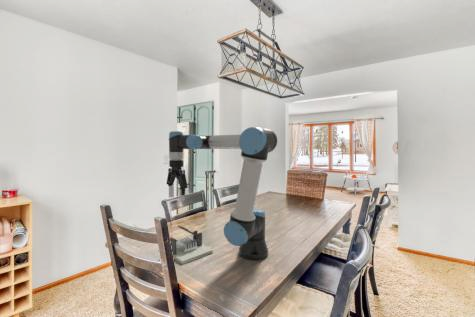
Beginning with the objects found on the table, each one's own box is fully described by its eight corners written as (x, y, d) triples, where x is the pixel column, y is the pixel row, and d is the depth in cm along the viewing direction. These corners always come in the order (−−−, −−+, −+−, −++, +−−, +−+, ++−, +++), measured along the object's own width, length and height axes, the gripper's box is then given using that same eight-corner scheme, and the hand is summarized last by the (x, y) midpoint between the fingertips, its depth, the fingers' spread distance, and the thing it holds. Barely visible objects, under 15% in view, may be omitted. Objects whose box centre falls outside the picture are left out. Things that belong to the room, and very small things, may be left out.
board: (212, 252, 124) (212, 249, 124) (182, 264, 112) (182, 261, 112) (189, 240, 140) (189, 237, 140) (160, 249, 128) (160, 246, 128)
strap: (199, 238, 130) (201, 235, 130) (180, 229, 121) (181, 225, 122) (196, 237, 132) (197, 234, 132) (177, 227, 123) (178, 224, 124)
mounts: (202, 245, 130) (202, 232, 129) (174, 254, 118) (174, 240, 118) (196, 242, 133) (196, 230, 133) (169, 251, 122) (169, 237, 122)
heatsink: (197, 248, 125) (197, 241, 125) (184, 253, 120) (184, 245, 120) (188, 243, 132) (188, 236, 132) (175, 247, 126) (175, 240, 126)
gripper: (194, 160, 125) (194, 201, 126) (172, 158, 142) (172, 194, 143) (181, 161, 120) (181, 204, 121) (160, 159, 137) (160, 196, 138)
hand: (176, 199), depth 132 cm, fingers open, 11 cm apart
